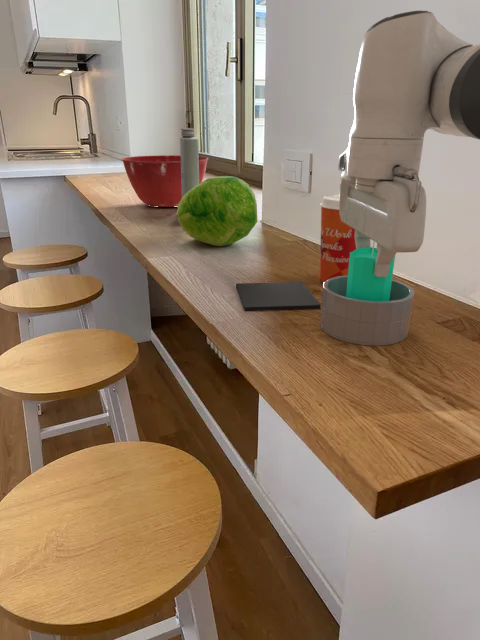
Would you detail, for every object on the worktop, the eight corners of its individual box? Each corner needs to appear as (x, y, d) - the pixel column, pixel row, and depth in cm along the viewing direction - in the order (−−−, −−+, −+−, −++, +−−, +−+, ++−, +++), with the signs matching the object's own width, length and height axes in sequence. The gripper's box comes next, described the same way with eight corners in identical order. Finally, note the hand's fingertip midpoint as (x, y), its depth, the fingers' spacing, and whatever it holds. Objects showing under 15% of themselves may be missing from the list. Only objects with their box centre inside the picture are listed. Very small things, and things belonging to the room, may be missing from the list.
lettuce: (229, 230, 129) (185, 182, 123) (282, 201, 114) (234, 145, 108) (200, 275, 120) (149, 226, 114) (253, 250, 105) (198, 191, 99)
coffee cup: (304, 279, 91) (310, 197, 86) (332, 271, 96) (339, 193, 91) (341, 290, 86) (350, 202, 80) (368, 281, 91) (378, 198, 85)
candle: (367, 314, 74) (376, 235, 70) (395, 328, 69) (407, 244, 64) (334, 320, 72) (341, 238, 67) (360, 336, 67) (370, 248, 62)
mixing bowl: (124, 213, 152) (120, 160, 147) (125, 199, 178) (121, 154, 172) (214, 211, 158) (214, 160, 152) (202, 198, 184) (202, 154, 178)
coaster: (302, 285, 88) (302, 281, 88) (320, 308, 77) (320, 305, 77) (235, 286, 87) (235, 283, 87) (244, 310, 76) (244, 307, 76)
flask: (181, 215, 150) (179, 127, 141) (197, 215, 151) (195, 127, 141) (183, 227, 134) (180, 128, 125) (200, 227, 135) (198, 128, 125)
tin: (387, 311, 77) (392, 273, 75) (423, 343, 66) (430, 301, 63) (310, 313, 75) (313, 275, 73) (334, 347, 64) (338, 304, 62)
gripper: (449, 170, 53) (429, 292, 58) (376, 157, 72) (366, 250, 77) (393, 170, 52) (377, 294, 57) (334, 156, 71) (327, 251, 76)
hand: (370, 268), depth 67 cm, fingers closed on candle, 5 cm apart
